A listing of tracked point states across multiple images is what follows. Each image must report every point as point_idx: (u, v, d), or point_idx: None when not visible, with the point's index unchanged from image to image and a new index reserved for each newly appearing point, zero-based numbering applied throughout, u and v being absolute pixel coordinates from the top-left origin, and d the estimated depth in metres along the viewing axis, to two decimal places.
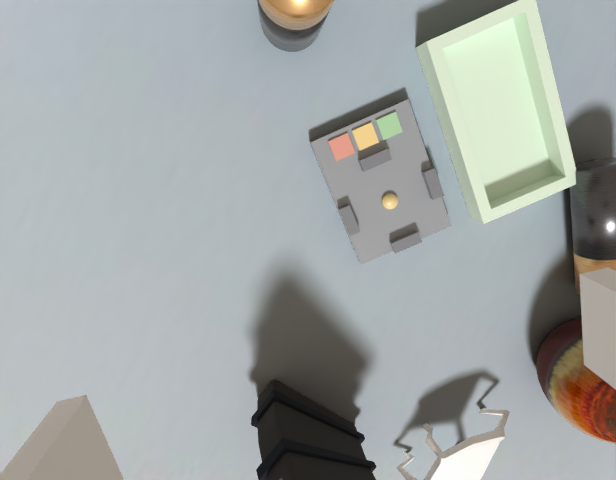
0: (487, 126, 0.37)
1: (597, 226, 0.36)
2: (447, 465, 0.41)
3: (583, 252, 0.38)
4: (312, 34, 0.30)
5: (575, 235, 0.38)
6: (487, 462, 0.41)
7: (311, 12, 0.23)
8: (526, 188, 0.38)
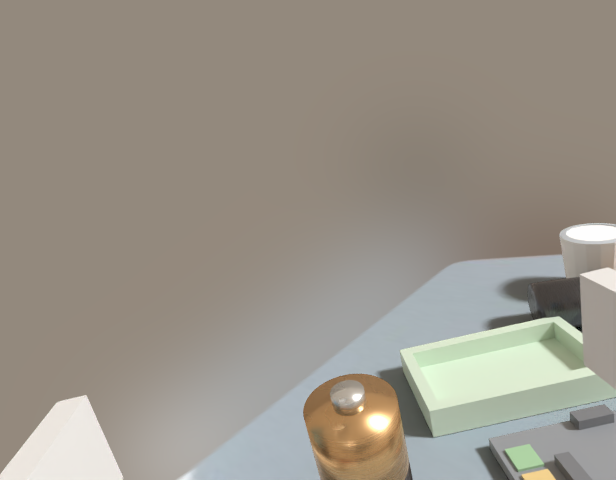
0: (512, 379, 0.37)
1: None
2: None
3: None
4: None
5: None
6: None
7: (397, 399, 0.22)
8: (573, 348, 0.38)
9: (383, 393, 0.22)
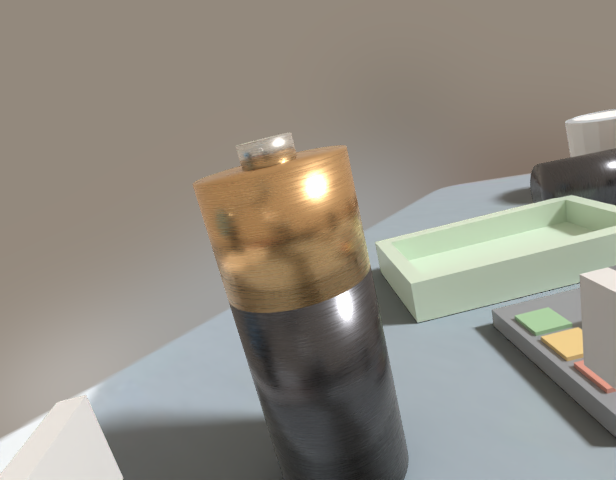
0: None
1: None
2: None
3: None
4: None
5: None
6: None
7: (346, 149, 0.13)
8: (593, 222, 0.30)
9: (325, 149, 0.14)
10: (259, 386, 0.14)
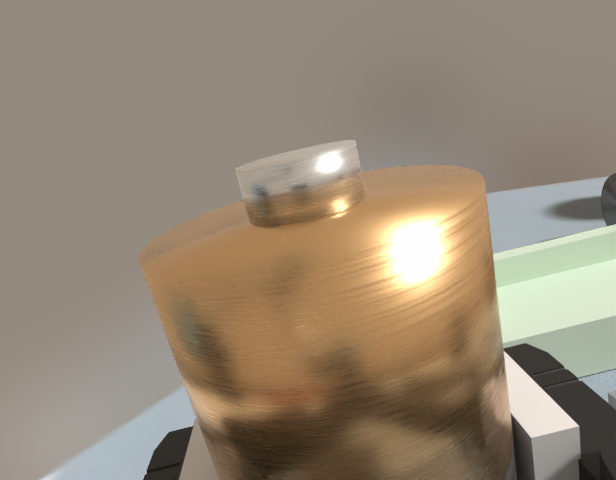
0: None
1: None
2: None
3: None
4: None
5: None
6: None
7: None
8: None
9: (423, 176, 0.07)
10: None
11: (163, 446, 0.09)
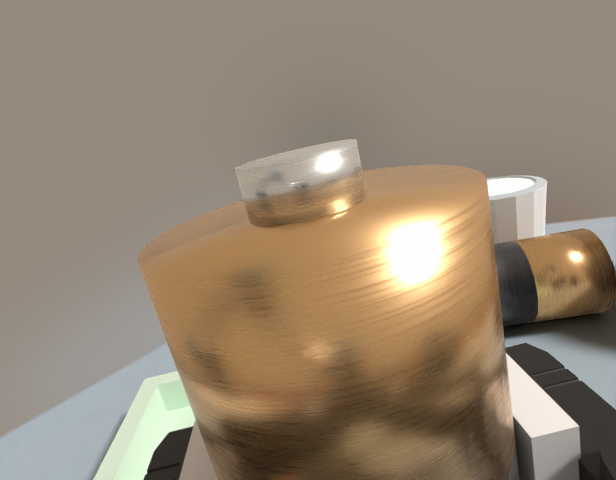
0: None
1: None
2: None
3: (526, 292, 0.23)
4: None
5: (501, 310, 0.24)
6: None
7: None
8: None
9: (424, 176, 0.07)
10: None
11: (163, 446, 0.09)
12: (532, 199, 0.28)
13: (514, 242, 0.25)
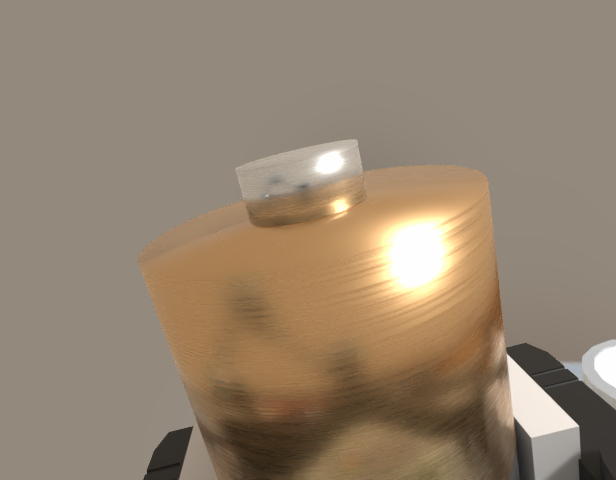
0: None
1: None
2: None
3: None
4: None
5: None
6: None
7: None
8: None
9: (424, 176, 0.07)
10: None
11: (163, 445, 0.09)
12: None
13: None
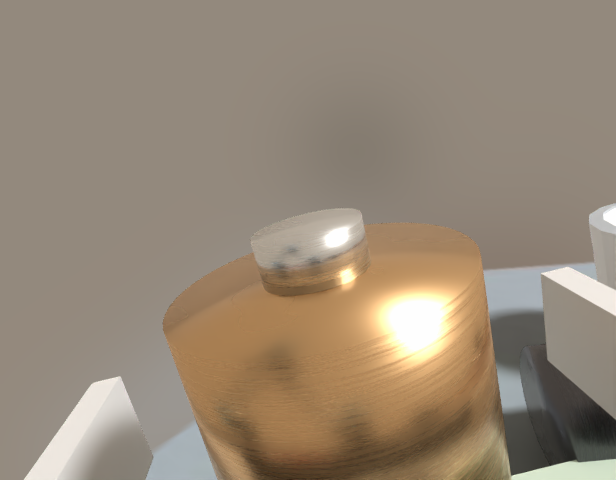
0: None
1: None
2: None
3: None
4: None
5: None
6: None
7: None
8: None
9: (423, 240, 0.07)
10: None
11: None
12: None
13: None
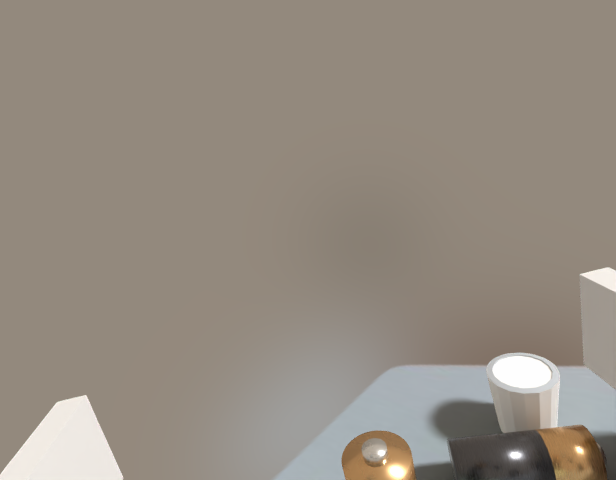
0: None
1: (513, 466, 0.36)
2: None
3: (549, 478, 0.36)
4: None
5: None
6: None
7: None
8: None
9: (400, 448, 0.30)
10: None
11: None
12: (550, 393, 0.41)
13: (540, 436, 0.38)
